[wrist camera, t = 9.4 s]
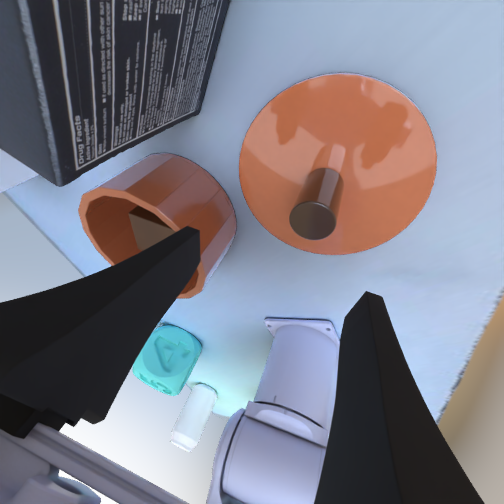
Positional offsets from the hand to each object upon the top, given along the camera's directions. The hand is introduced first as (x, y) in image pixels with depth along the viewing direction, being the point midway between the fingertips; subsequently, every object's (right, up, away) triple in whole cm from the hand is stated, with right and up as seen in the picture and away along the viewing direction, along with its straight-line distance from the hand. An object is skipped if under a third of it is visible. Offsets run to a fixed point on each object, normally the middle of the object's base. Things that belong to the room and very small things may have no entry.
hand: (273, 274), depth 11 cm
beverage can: (-12, -32, +50) cm, 60 cm away
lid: (+4, +5, +5) cm, 8 cm away
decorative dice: (-13, -14, +34) cm, 39 cm away
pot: (-7, +5, +12) cm, 15 cm away
